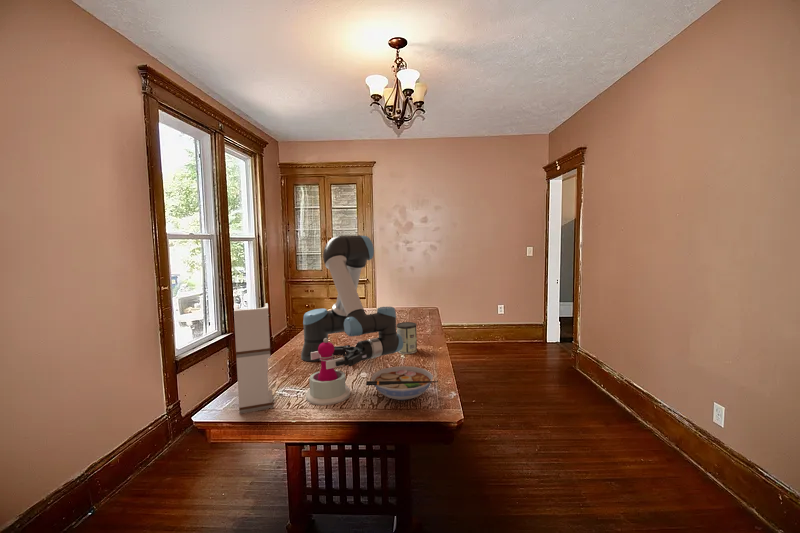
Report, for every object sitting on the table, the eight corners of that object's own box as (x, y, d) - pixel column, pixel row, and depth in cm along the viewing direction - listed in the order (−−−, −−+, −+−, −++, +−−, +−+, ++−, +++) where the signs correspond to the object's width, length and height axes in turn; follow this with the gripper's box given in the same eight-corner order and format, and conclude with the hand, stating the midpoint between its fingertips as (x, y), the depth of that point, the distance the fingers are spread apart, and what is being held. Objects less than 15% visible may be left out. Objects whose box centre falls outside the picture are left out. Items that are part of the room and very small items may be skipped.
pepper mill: (333, 395, 131) (331, 341, 130) (315, 394, 133) (312, 340, 131) (340, 387, 138) (338, 335, 137) (323, 386, 140) (320, 335, 138)
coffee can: (403, 347, 195) (403, 321, 194) (420, 349, 190) (420, 323, 189) (393, 352, 187) (392, 325, 186) (410, 355, 181) (410, 327, 180)
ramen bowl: (433, 383, 145) (433, 363, 144) (440, 409, 122) (439, 386, 122) (371, 384, 145) (370, 364, 144) (365, 411, 122) (365, 387, 122)
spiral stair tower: (272, 408, 126) (268, 308, 124) (239, 413, 123) (233, 311, 120) (272, 395, 137) (267, 303, 134) (241, 400, 133) (236, 305, 131)
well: (299, 394, 137) (298, 374, 137) (337, 383, 147) (337, 365, 146) (317, 409, 124) (316, 388, 124) (357, 396, 134) (357, 376, 133)
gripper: (386, 366, 136) (334, 380, 123) (353, 351, 155) (305, 362, 143) (385, 346, 135) (333, 358, 122) (352, 334, 155) (304, 343, 142)
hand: (318, 360), depth 133 cm, fingers open, 13 cm apart
